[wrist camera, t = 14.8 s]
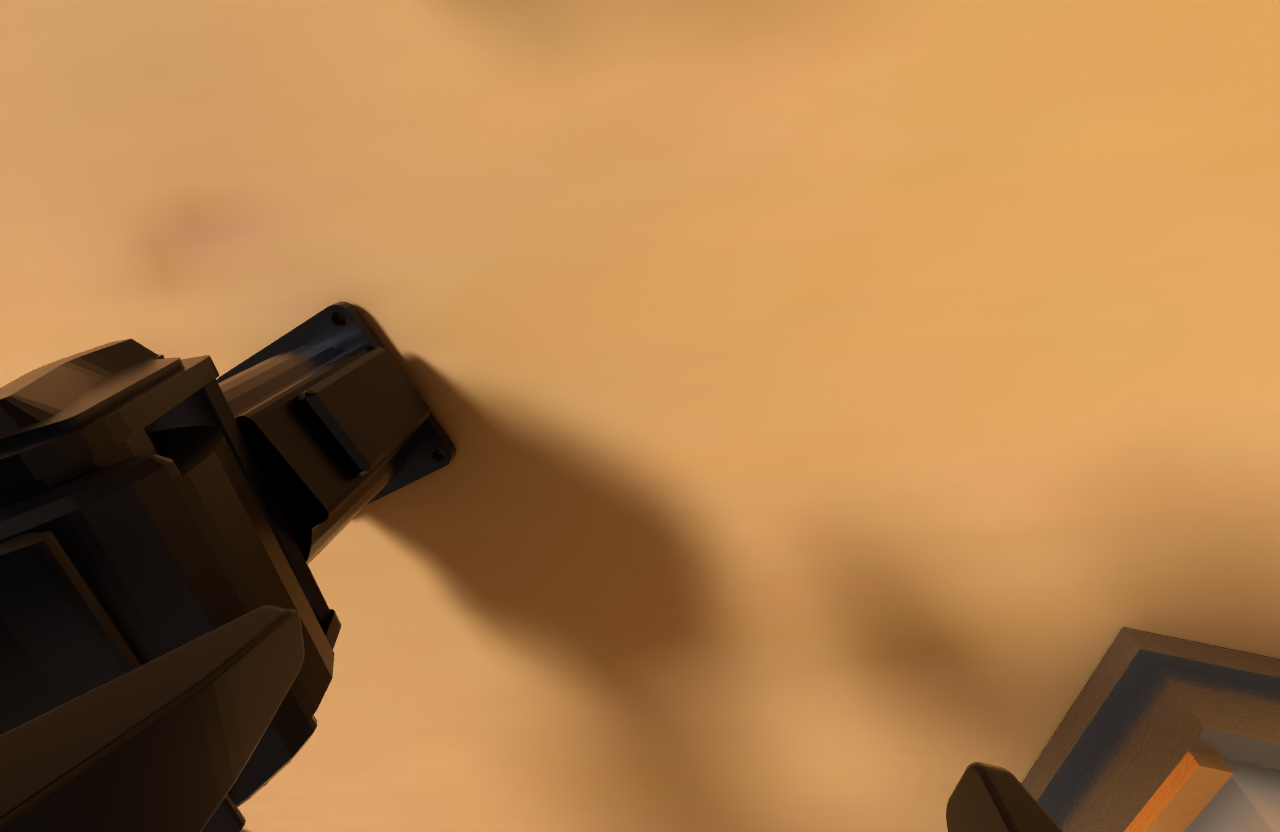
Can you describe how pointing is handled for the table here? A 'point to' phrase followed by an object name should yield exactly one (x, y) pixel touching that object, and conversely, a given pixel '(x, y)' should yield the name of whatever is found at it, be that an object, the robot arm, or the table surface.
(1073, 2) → the table surface
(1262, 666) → the rack
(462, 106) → the table surface
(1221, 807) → the white rectangular block
